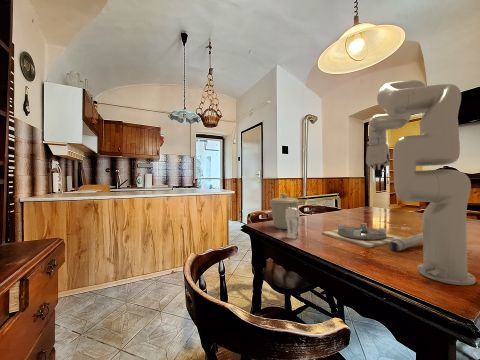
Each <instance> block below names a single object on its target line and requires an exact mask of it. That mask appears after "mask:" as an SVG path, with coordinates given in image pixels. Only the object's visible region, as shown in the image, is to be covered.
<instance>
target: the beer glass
mask: <svg viewBox="0 0 480 360" xmlns="http://www.w3.org/2000/svg"><path fill="white" fill-rule="evenodd" d="M285 217H286V224H287V229H286V230H287V234H286V238H287V239H290V240H298V239H300V235H299V226H300V208H299V207H298V208H296V207H288V208H286V212H285Z"/></svg>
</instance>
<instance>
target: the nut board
mask: <svg viewBox="0 0 480 360" xmlns="http://www.w3.org/2000/svg"><path fill="white" fill-rule="evenodd" d="M321 235H323V236H326V237H330V238H334V239H336V240H339V241H343V242H346V243H350V244H351V245H352V244H353V245H355V246H359V247H362V248H366V249H369V248H375V247H379V246H383V245H389V243H390V242H393V241H395V240H396V239H402V238H406V237H407V236H406V237H405V236H401V235H396V234H392V233H387V232H386V238H385V239H381V240H360V239H353V238H348V237H344V236H342V235H340V234H338V229H333V230H328V231H327V230H325V231H321Z"/></svg>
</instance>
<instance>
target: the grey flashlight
mask: <svg viewBox="0 0 480 360" xmlns="http://www.w3.org/2000/svg"><path fill="white" fill-rule="evenodd" d="M420 243H423V232H420V233H417V234H413V235H409V236H406V238H402V239H396V240H395V241H393V242H390V243H388V247H389V250H391V251H393V252H396V251H397V252H400V251H404V250H406V249H407V248H410V247H412V246H414V245H417V244H420Z"/></svg>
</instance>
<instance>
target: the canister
mask: <svg viewBox="0 0 480 360" xmlns="http://www.w3.org/2000/svg"><path fill="white" fill-rule="evenodd" d="M269 203H270V208H271V214H272V215H271V216H272V222H273V225H274V227H275V228H276V229H279V230H287V224H286V217H285V212H286V208H288V207H296V208H299V203H300V200H298V198H296V197H288V194H287V193H285V192H283V193H281V197H274V198H271V200H269Z"/></svg>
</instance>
